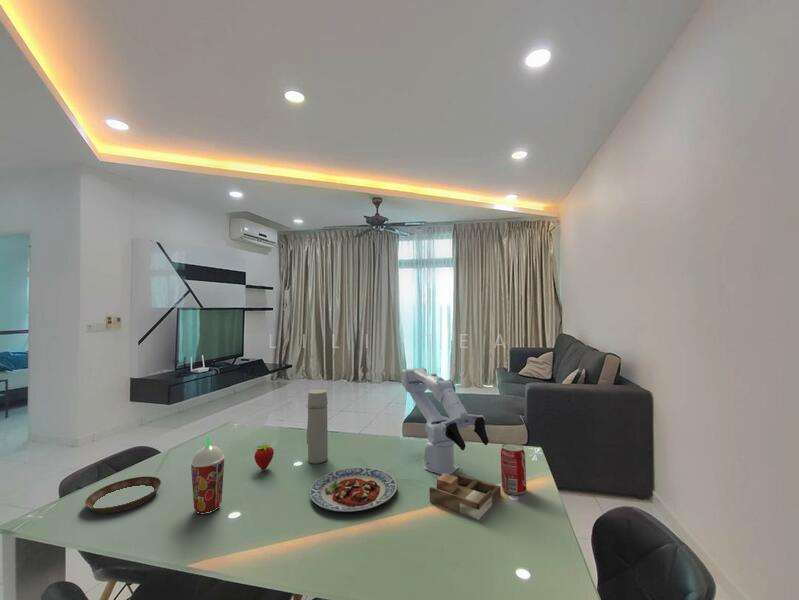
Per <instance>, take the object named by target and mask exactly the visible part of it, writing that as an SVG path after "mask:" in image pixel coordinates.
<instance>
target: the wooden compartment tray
mask: <svg viewBox="0 0 799 600" xmlns="http://www.w3.org/2000/svg"><path fill="white" fill-rule="evenodd" d="M451 475H452V476H455V477H458V488H457V489H456V490H455V491H454V492H453V493H448V492H445V491H442V490H439V489H437V486H436V487H433V486H429V503H432V502H433V503H432V504H434V505H438V506H440V507H443V506H444V508H446V509H448V508H449V510H451V509H452V511H455V512H456V513H459V512H460V513H459V514H463V515H465V516H468V517H471V518H473V519H475V520H480V519H481V518H482V517H483V516H484V514H486V513H487V511H488V510H489V509H490V508H491V507H492V506H493V505H494V503H496V501H497V500H498V499H499V498H500V496H501V491H502V490H501V485H500V486H499V485H498V484H497V485H496V484H493V483H491V482H490V483H489V482H487V481H483V480H480V479H477V478H474V477H473V478H472V477H469V476H466V475H464V474H460V473H456V472H453V473H452V474H451Z"/></svg>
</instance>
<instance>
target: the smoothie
mask: <svg viewBox="0 0 799 600" xmlns="http://www.w3.org/2000/svg"><path fill="white" fill-rule="evenodd" d="M225 458H226V456H225V454H224V453H223V451H222V449H221V448H220V447H218V446H216V445H213V444H212V445H211V444H210V435H207V436H206V446H202V447H201V448H199V449H198V451H196V452H195V454H194V456H193V457H192V459H191V460H190V468H191V483H192V497H193V498H192V499H193V508H194V510H195V512H196V511H197V512H199V513H206V512H210V511H213V510H215V509H216V508H218V507H219V508H220V506H219V505H221V503H222V501H223V489H224V488H223V485H224V471H225ZM219 508H218V509H219ZM215 511H216V510H215ZM197 512H196V513H197Z"/></svg>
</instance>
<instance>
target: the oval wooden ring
mask: <svg viewBox="0 0 799 600" xmlns="http://www.w3.org/2000/svg"><path fill="white" fill-rule="evenodd" d="M140 485H145V486H152V487H153V488H154V491H153V492H151V493H150V494H148V495H146V496H144V497H142V498H140V499H137V500H135V501H132V502H129V503H126V504H122V505H118V506H113V507H105V508H94V507H93V505H94V504H95V502H96V501H97V500H98V499H100V498H101V497H103V496H105V495H106V494H108V493H111V492H114V491H116V490H120V489H123V488H127V487H132V486H140ZM161 485H162V480H161V479H160V478H159V477H156V476H150V475H149V476H147V475H145V476H135V477H131V478H126V479H123V480H119V481H116V482H113V483H111V484H107V485H106V486H103V487H102V488H101V487H100V489H97V490H96V491H94V492H93V493H91V494H90V495H89V496H88V497H86V499H85V501H84V505H85V506H86V507H87V509H89V510H90V511H92V512H94V513H95V514H100V513H110V514H113V513H112V512H117V513H119V512H118V511H121V512H123V511H122V510H125V511H127V510H126V509H128V510H130V509H129V508H131V509H133V508H132V507H134V506H136V507H138V506H137V505H139V504H141V503H143V502H144V503H146V502H147V501H149V500H150V499H151V498H153V496H154V495H155V494H157V491H159V488H160V487H161ZM148 499H149V500H148ZM146 500H147V501H146ZM145 501H146V502H145ZM144 503H143V504H144ZM141 505H142V504H141ZM139 506H140V505H139ZM134 508H135V507H134Z"/></svg>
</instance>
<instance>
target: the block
mask: <svg viewBox="0 0 799 600" xmlns="http://www.w3.org/2000/svg"><path fill="white" fill-rule="evenodd" d="M452 475H453V474H451V475H449V474H446V473H444V474H443V475H442V474H440V476H439V477H437V478H436V487H437V489H439V490H442V491H445V492H448V493H453V492H454V491H455V490H456V489H457V488H458V477H455V476H452Z"/></svg>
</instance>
